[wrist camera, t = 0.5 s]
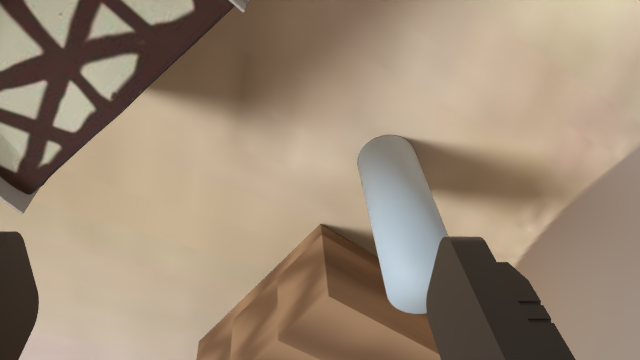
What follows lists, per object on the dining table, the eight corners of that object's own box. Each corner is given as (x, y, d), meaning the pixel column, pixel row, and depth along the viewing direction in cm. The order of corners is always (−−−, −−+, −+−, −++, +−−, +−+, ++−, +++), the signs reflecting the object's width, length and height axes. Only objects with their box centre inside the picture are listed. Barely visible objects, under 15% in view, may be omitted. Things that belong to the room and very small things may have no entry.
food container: (154, -202, 21) (77, -199, 13) (263, -71, 24) (258, -1, 16) (-23, 8, 25) (-167, 111, 17) (89, 98, 28) (13, 222, 20)
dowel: (385, 124, 30) (426, 246, 22) (427, 155, 31) (480, 280, 23) (345, 165, 31) (370, 293, 23) (387, 192, 33) (424, 323, 25)
